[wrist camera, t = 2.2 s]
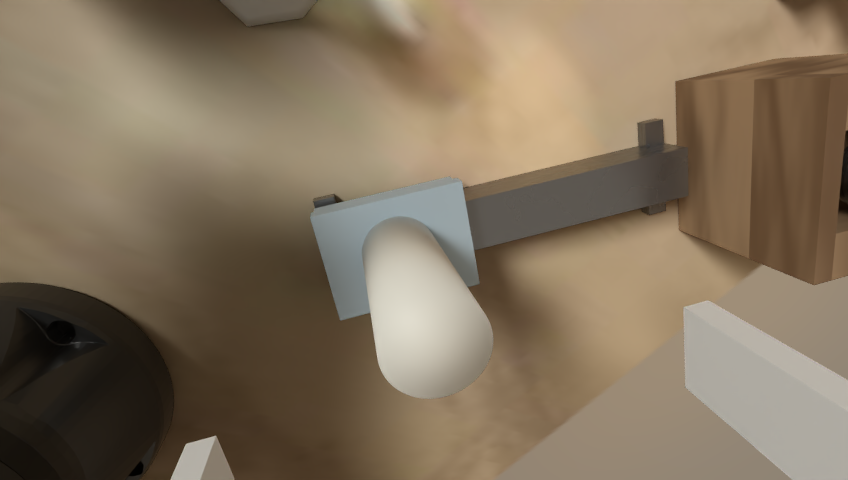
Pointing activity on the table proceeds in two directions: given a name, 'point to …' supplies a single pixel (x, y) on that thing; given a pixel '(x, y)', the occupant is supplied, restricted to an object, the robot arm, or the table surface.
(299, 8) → the flask
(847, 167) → the button plunger
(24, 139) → the table surface
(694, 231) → the wooden button housing
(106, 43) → the table surface
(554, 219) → the rail
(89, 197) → the table surface
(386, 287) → the carriage
